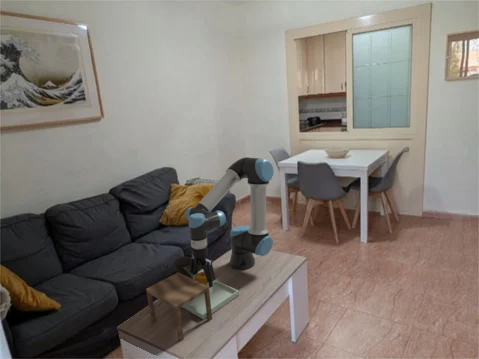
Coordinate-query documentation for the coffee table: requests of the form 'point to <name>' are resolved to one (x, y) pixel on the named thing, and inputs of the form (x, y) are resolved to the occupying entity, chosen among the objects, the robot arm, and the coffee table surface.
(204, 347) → the coffee table surface
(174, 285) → the riser
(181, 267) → the container
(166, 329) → the coffee table surface
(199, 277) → the apple
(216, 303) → the tray
